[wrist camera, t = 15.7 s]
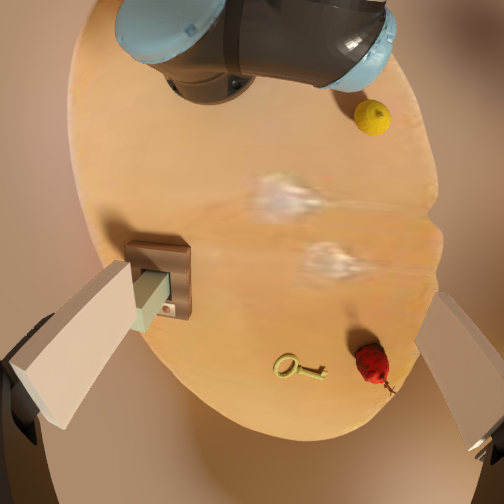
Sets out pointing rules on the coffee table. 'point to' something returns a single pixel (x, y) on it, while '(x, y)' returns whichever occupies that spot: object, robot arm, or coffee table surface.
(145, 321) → the sage peg
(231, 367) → the coffee table surface
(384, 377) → the red clay folk toy
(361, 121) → the fruit
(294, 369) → the key
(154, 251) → the socket block
